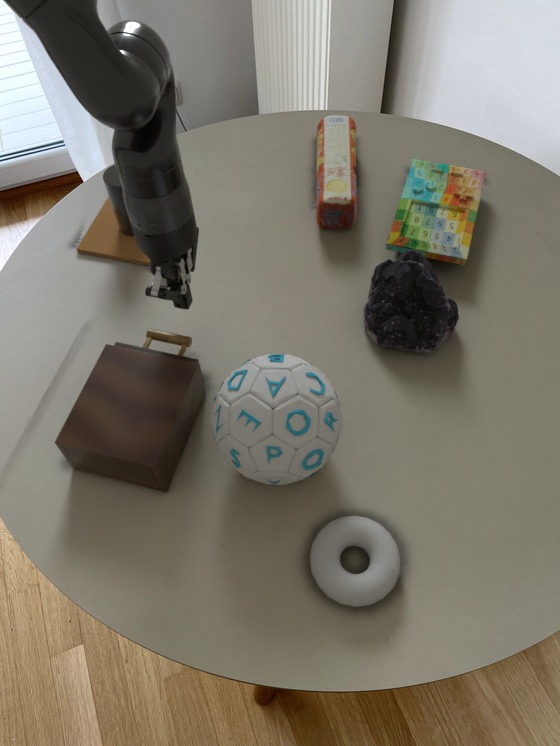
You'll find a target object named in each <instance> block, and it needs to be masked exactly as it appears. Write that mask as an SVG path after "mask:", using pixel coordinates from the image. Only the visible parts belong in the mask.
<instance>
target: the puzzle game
mask: <svg viewBox="0 0 560 746" xmlns="http://www.w3.org/2000/svg"><path fill="white" fill-rule="evenodd" d="M486 175H487V170H482V169H475V168H471V167H470V168H469V167H464V166H458V165H453V164H452V165H451V164H447V163H442V162H441V163H440V162H434V161H429V160H423V159H417V158H413V159H412V162H411V165H410V168H409V171H408V175H407V177H406V181H405V184H404V187H403V190H402V193H401V196H400V199H399V203H398V206H397V209H396V212H395V216H394V219H393V222H392V224H391V228H390V231H389V234H388V238H387V240H386V243H385V250H387V251H391V252H396V253H401V254H402V253H404V252H405V251H407V250H410V249H414V250H417V251H419V252H420V253H421V254H422V255H423V256H424V257H425V258H426V259H431V260H437V261H440V262H441V261H442V262H447V263H451V264H457V265H461V266H466V265H467V261H468V258H469V253H470V248H471V244H472V239H473V234H474V230H475V226H476V220H477V217H478V212H479V207H480V202H481V199H482V194H483V189H484V184H485V180H486Z"/></svg>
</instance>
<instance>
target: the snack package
mask: <svg viewBox="0 0 560 746" xmlns="http://www.w3.org/2000/svg"><path fill="white" fill-rule="evenodd" d="M316 127H317V128H316V145H317V146H316V161H315V162H316V164H315V165H316V205H315V206H316V207H315V208H316V209H315V214H316V215H315V216H316V224H317V225H318V227H319V228H321V229H323V230H330V231H332V230H334V231H335V230H346V229H350V228H351V227H352V226H353V225H354V223H355V222H356V219H357V211H358V209H357V208H358V193H357V192H358V191H357V190H358V188H357V147H356V145H357V143H356V135H357V125H356V122H355V120H354V119H353V118H352V117H350V116H348V115H336V114H335V115H333V114H332V115H328V116H325V117H323V118H321V119H320V121H319V123H318V124H317V126H316Z"/></svg>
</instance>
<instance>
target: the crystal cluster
mask: <svg viewBox="0 0 560 746" xmlns="http://www.w3.org/2000/svg"><path fill="white" fill-rule="evenodd" d="M440 283H441V282H440V279H439V277H438V275H437V273H435V271H434V267H433V265H432V263H431V262H430V261H429V260H428V258H426V257H424V256H423V255H422V254H421V253H420V252H419V251H417V250H414V249H410V250H407V251H405V252H404V253H401V254H400V255H399V256H398V259H396V261H394V260H392V259H387V260H384V261H383V262H380V263H379V264H378V265H377V264H376V266H375V268H374V271H373V274H372V276H371V279H370V287H369V289H368V294H367V302H366V303H365V306H364V307H363V314H364V319H363V325H364V327H365V328H366V333H367V335H368V337H369V338H370V340H371V341H372V342H373V343H375V345H377V346H379V347H384V348H391V347H392V348H395V349H397V350H400V351H409V352H411V351H412V352H415V353H419V354H422V355H423V354H424V355H430V354H431V353H432V352H433V351H435V350H437V348H438V347H441V345H442V344H443V342H445V341H446V340H448V339H450V338H452V337H453V336H454V331H455V328H456V326H457V325H458V322H459V320H460V319H459V318H460V314H459V307H458V304H457V302H456V300H455V299H454V298H451V297H447V296H446V292H445V291H444V288H443V286H442V285H440Z"/></svg>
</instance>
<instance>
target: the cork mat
mask: <svg viewBox="0 0 560 746" xmlns="http://www.w3.org/2000/svg"><path fill="white" fill-rule="evenodd" d="M76 252H77V253H79V254H84V255H90V256H96V257H101V258H105V259H106V258H107V259H111V260H117V261H121V262H125V263H126V262H128V263H132V264H138V265H143V266H149V267H150V259H149V258H148V257H147V256H146V255H145V254H144V253H143V252H142V251H141V250H140V249H139V247H138V246H137V243H136V240H135V237H134V236H127V235H124V234H123V233H122V232H121V231H120V229H119V226H118V223H117V220H116V217H115V214H114V211H113V208H112V205H111V202H110V199H109V196H107V198H106V200H105V201H104V203H103V205H102V207H101V208H100V209H99V211H98V212H97V215H96V216H95V217H94V219H93V221H92V223H91V224H90V226H89V227H88V229H87V231H86V232H85V233H84V235H83V238H82V239H81V241H80V242H79V244H78V246H77V247H76Z"/></svg>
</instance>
